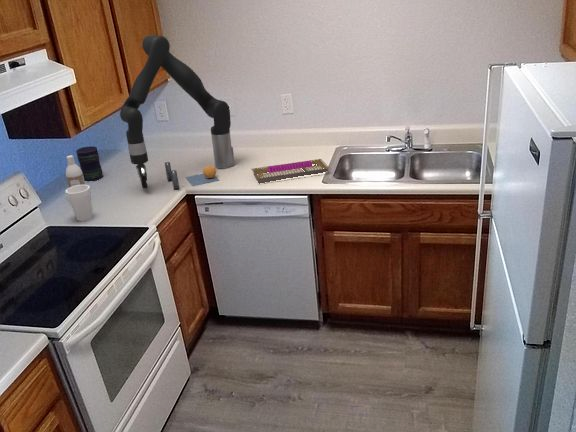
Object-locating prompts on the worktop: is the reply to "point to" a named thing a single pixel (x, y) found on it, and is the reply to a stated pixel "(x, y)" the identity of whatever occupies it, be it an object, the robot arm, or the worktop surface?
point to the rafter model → (290, 167)
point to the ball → (209, 171)
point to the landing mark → (200, 179)
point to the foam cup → (80, 201)
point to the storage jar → (89, 163)
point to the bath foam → (74, 173)
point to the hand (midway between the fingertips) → (144, 187)
